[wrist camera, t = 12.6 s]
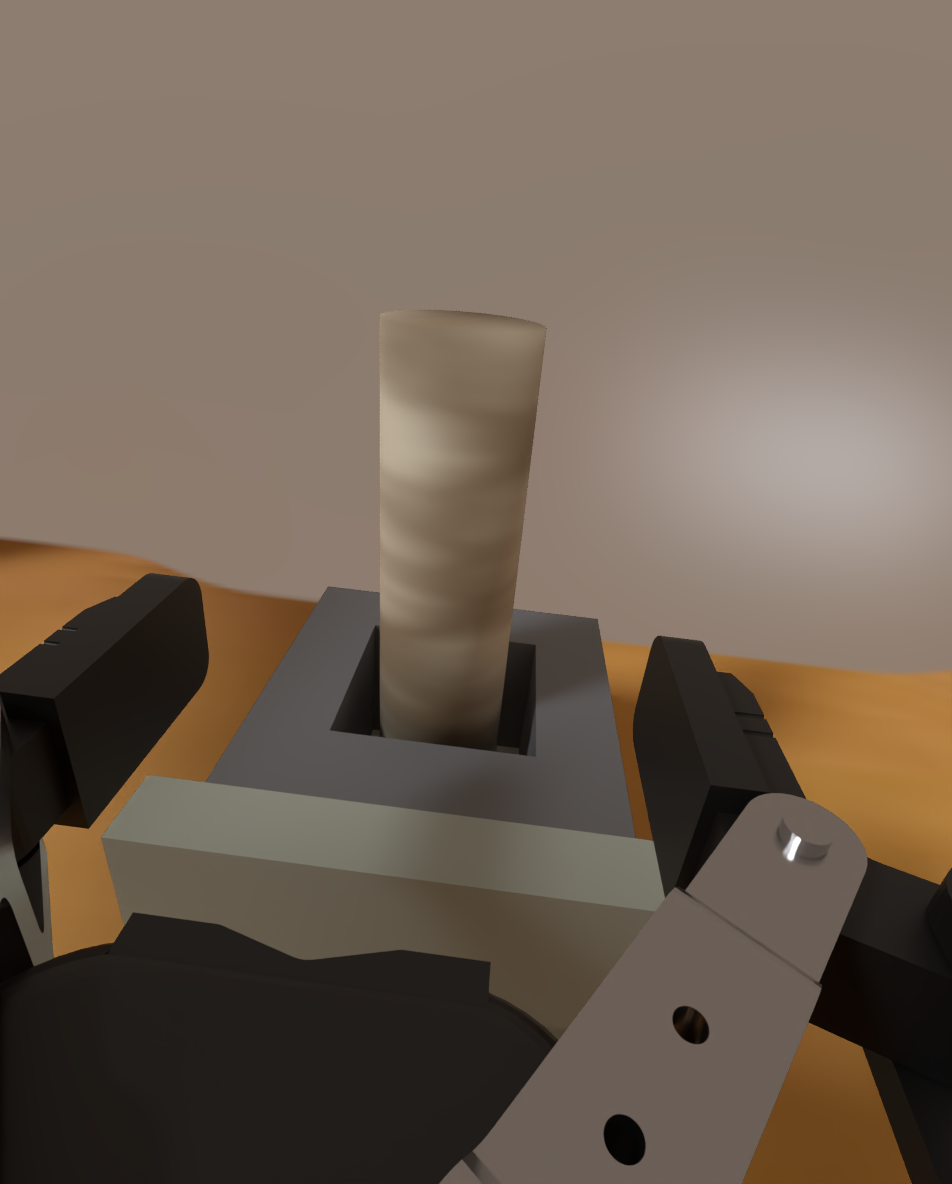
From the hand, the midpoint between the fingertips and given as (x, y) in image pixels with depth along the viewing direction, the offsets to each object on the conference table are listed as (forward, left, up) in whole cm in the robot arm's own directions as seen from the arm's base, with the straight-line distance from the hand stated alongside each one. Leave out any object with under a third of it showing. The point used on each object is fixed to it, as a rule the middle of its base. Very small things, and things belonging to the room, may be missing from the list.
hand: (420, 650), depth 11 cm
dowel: (0, +8, -11) cm, 13 cm away
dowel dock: (0, +8, -12) cm, 15 cm away
